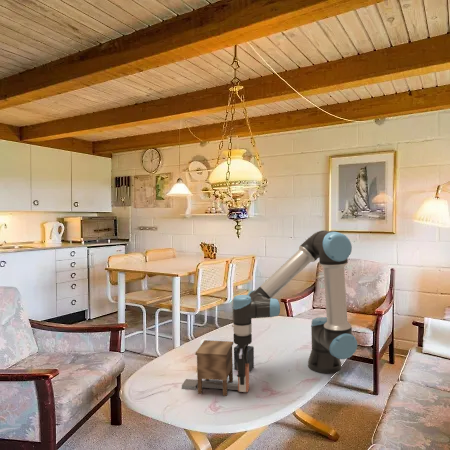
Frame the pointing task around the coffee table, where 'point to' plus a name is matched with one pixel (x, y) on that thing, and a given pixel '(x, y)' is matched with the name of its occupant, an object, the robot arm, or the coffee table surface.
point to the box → (250, 357)
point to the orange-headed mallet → (229, 385)
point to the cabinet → (214, 363)
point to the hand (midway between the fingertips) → (243, 388)
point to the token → (190, 384)
